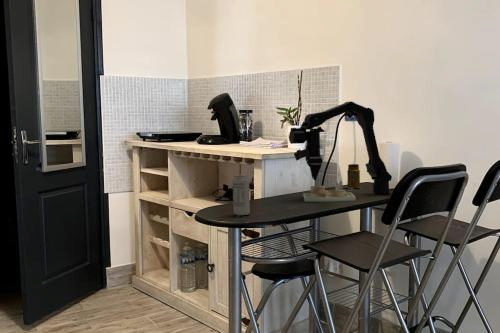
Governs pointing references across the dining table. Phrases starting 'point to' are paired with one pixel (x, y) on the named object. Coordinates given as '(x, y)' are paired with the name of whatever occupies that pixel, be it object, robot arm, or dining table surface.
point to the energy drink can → (241, 194)
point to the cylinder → (338, 185)
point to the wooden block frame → (326, 192)
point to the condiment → (353, 175)
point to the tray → (328, 198)
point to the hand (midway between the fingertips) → (313, 178)
